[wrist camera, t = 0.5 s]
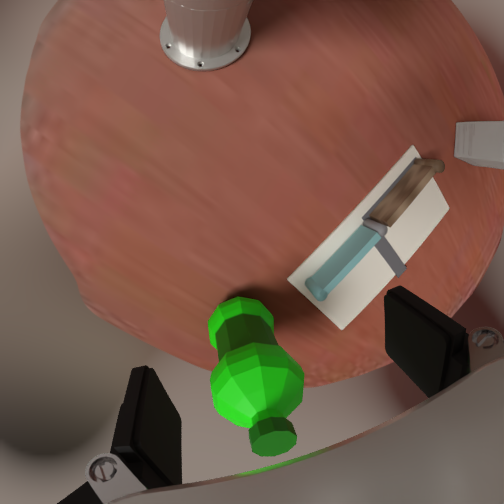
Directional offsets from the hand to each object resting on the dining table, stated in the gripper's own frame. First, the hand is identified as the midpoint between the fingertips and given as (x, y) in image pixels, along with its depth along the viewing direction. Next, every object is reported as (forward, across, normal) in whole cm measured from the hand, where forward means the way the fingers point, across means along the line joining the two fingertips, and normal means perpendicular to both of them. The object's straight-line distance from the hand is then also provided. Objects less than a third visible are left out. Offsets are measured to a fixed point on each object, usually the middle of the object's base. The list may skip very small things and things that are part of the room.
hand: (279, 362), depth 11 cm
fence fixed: (+32, -29, +2) cm, 43 cm away
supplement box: (+32, -49, -3) cm, 59 cm away
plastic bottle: (+33, +2, +15) cm, 37 cm away
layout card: (+33, -25, +10) cm, 42 cm away
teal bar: (+32, -16, +10) cm, 37 cm away
